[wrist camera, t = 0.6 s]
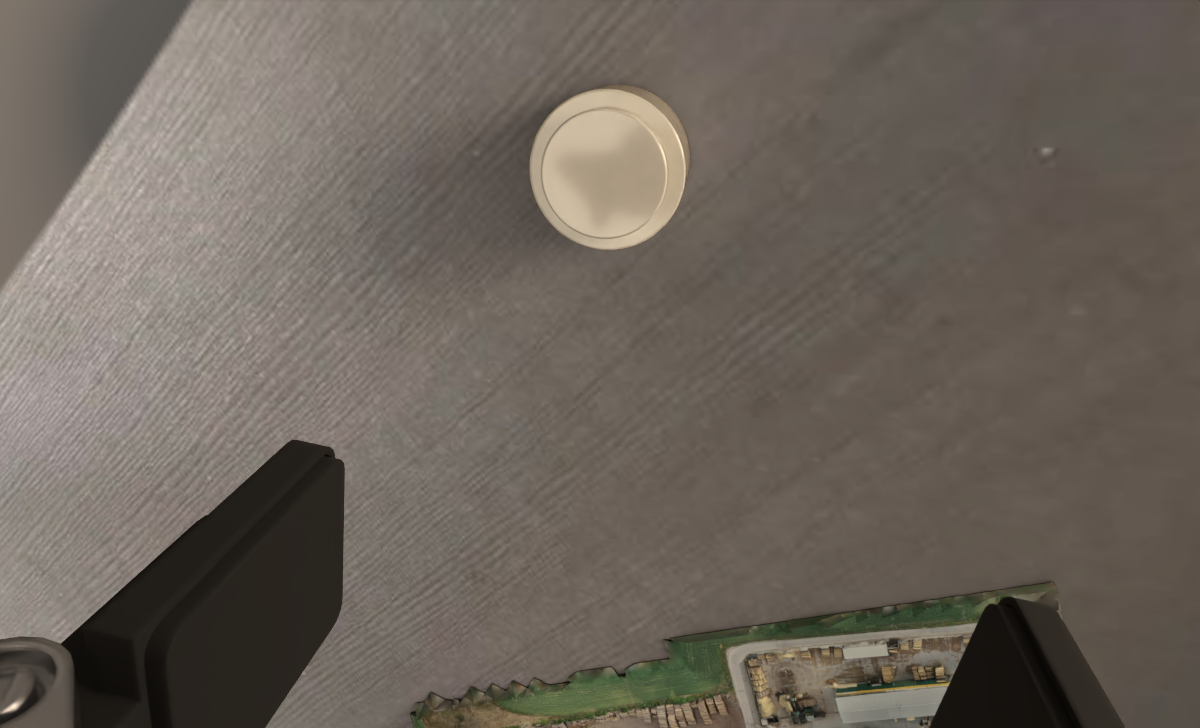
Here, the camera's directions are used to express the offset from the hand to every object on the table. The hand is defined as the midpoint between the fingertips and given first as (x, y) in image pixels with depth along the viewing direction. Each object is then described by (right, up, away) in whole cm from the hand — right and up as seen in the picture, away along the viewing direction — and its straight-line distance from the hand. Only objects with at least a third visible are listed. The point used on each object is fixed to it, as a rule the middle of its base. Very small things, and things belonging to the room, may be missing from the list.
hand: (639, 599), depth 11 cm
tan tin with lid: (0, +10, +15) cm, 18 cm away
